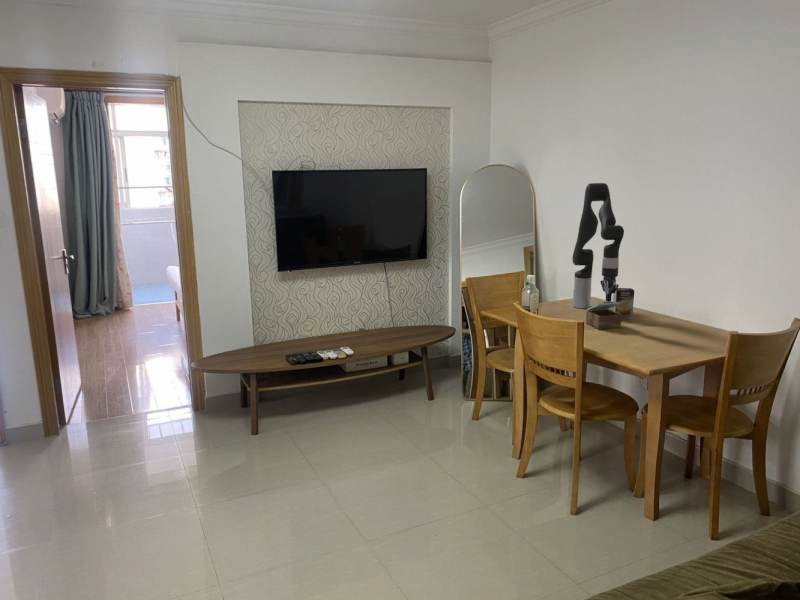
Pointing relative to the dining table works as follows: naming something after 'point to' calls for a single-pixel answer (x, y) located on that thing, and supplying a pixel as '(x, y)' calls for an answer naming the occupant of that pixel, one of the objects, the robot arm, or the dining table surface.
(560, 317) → the dining table surface
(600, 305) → the lid
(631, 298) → the coffee box
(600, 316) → the box
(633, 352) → the dining table surface
